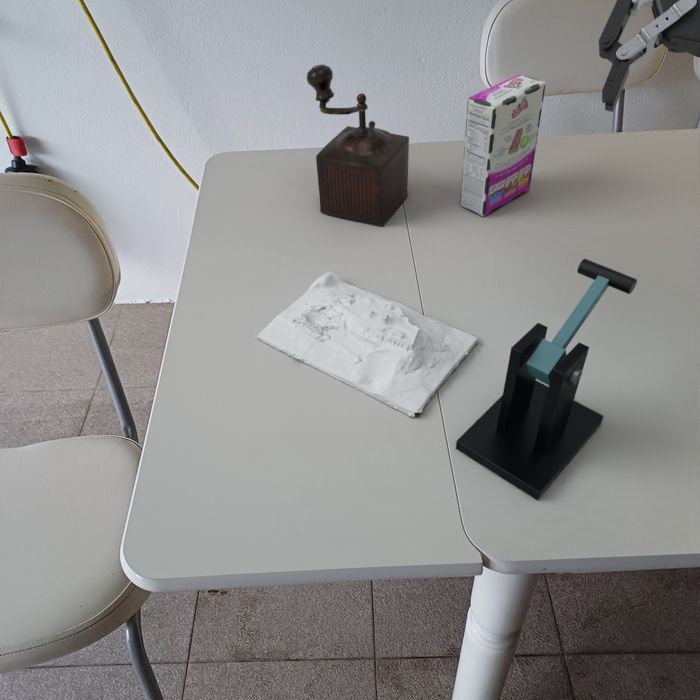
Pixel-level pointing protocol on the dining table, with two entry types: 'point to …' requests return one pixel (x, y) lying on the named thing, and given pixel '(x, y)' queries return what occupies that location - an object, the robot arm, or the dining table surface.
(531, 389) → the switch bracket
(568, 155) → the dining table surface
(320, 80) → the manual coffee grinder
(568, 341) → the switch lever
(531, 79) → the candy bar box
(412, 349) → the terrain model
